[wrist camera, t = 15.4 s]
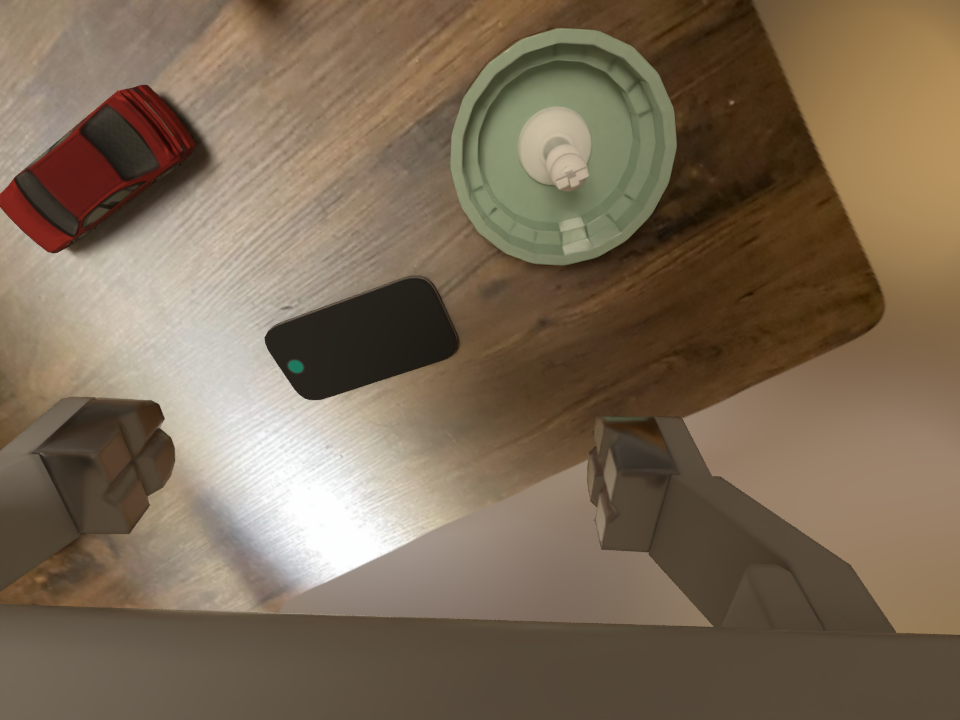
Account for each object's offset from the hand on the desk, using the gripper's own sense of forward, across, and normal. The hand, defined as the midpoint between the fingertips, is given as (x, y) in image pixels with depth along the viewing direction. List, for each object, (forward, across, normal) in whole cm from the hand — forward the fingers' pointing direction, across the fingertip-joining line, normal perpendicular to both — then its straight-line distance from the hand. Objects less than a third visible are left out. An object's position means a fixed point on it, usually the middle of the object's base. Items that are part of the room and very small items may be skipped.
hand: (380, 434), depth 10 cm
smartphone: (+31, +8, +15) cm, 36 cm away
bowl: (+31, -6, 0) cm, 32 cm away
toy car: (+31, +24, +2) cm, 40 cm away
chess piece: (+31, -6, 0) cm, 31 cm away
